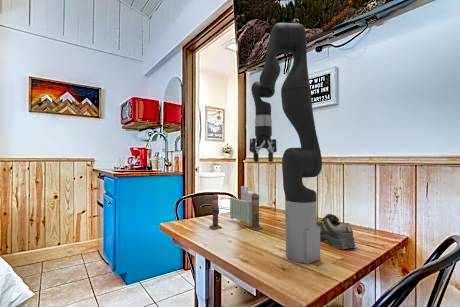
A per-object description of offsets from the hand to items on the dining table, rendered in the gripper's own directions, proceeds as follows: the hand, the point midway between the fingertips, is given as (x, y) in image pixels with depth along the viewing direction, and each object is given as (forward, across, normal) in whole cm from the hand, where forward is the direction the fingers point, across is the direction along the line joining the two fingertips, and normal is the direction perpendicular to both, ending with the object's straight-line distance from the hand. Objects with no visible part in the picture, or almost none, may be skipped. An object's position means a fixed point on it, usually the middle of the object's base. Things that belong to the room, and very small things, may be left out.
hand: (263, 161), depth 114 cm
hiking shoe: (+28, +5, -30) cm, 42 cm away
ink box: (+29, +10, +24) cm, 39 cm away
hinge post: (+28, -7, -2) cm, 29 cm away
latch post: (+28, -20, +9) cm, 36 cm away
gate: (+27, -7, +8) cm, 29 cm away
